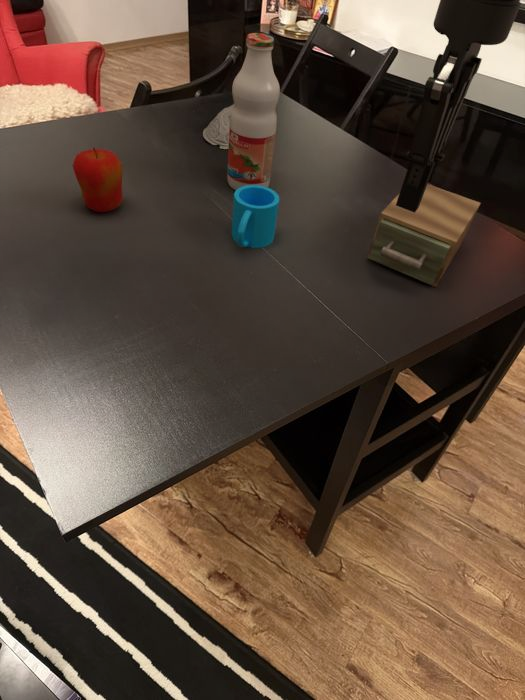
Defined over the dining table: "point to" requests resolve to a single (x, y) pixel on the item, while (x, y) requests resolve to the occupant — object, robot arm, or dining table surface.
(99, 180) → the apple
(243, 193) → the mug
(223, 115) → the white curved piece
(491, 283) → the dining table surface
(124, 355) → the dining table surface
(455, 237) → the cabinet
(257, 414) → the dining table surface
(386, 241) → the drawer
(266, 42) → the fruit juice
